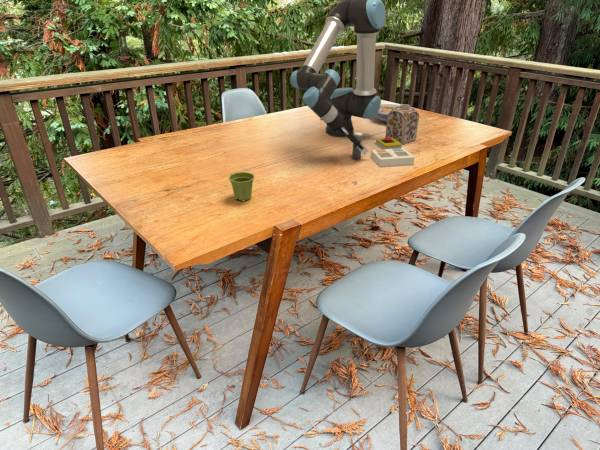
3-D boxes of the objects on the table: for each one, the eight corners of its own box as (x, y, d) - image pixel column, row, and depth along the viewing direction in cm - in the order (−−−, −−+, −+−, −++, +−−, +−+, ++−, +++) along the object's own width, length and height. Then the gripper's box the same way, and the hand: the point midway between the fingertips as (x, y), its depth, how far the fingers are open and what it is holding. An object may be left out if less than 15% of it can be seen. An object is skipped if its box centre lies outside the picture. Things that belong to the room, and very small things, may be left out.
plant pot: (231, 192, 160) (229, 172, 156) (255, 192, 161) (254, 171, 156) (229, 204, 152) (227, 182, 148) (255, 203, 153) (254, 181, 148)
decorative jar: (402, 145, 208) (407, 109, 199) (384, 139, 216) (388, 104, 207) (416, 140, 215) (422, 105, 206) (398, 134, 223) (402, 100, 214)
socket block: (370, 157, 194) (371, 149, 192) (402, 155, 196) (403, 147, 194) (379, 167, 183) (380, 158, 181) (413, 164, 186) (414, 156, 184)
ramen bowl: (369, 114, 256) (371, 101, 252) (407, 116, 253) (409, 102, 249) (370, 126, 234) (371, 112, 230) (411, 128, 232) (413, 114, 228)
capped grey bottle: (350, 156, 194) (352, 131, 188) (359, 156, 194) (361, 131, 188) (353, 160, 190) (355, 134, 184) (361, 159, 191) (364, 134, 185)
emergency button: (390, 133, 211) (405, 143, 199) (389, 142, 214) (404, 151, 201) (373, 135, 209) (388, 145, 197) (373, 143, 211) (387, 153, 199)
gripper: (320, 118, 188) (353, 150, 199) (330, 129, 174) (364, 163, 185) (332, 105, 186) (364, 139, 198) (343, 116, 172) (377, 151, 183)
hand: (364, 151), depth 191 cm, fingers closed on capped grey bottle, 4 cm apart
